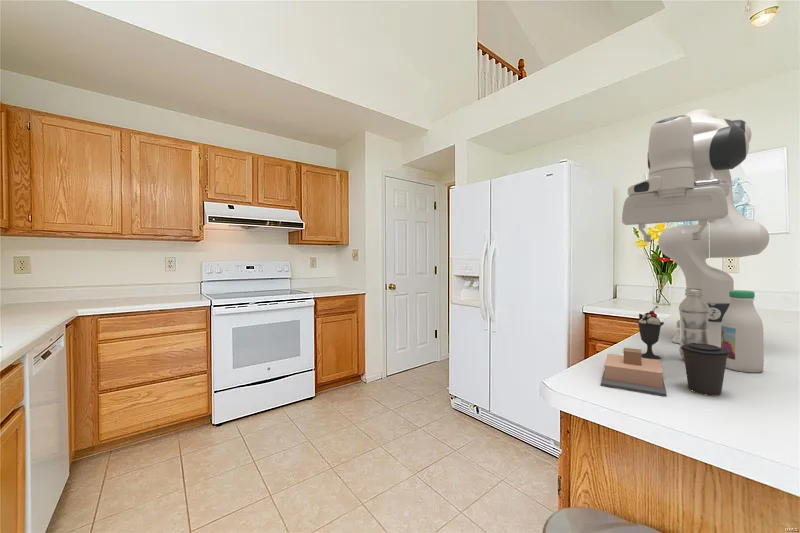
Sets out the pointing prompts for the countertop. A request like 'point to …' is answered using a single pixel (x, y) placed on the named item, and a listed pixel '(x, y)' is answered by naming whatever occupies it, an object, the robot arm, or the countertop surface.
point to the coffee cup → (705, 367)
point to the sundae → (649, 332)
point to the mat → (634, 387)
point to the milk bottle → (743, 333)
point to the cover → (633, 369)
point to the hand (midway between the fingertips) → (671, 240)
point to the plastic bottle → (693, 318)
